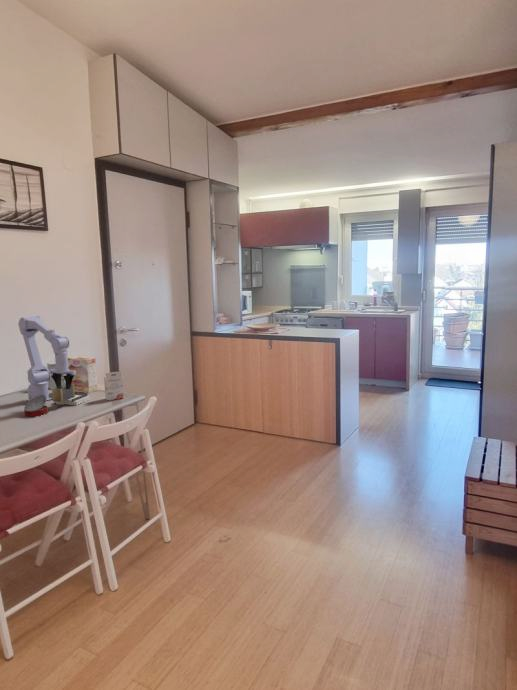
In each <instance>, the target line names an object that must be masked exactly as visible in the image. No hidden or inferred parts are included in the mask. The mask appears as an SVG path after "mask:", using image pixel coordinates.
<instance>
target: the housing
mask: <svg viewBox="0 0 517 690" xmlns="http://www.w3.org/2000/svg"><path fill="white" fill-rule="evenodd" d="M51 393H52V394H51V395H52V398H53V399H52V402H53V401H55V402H63V401H66V400H68V399H71V398H74V397H75V395H76V392H75V387H74V384H71V388H70V389H66V383H65V384H64V385H61V386H58V387H55V388H52V389H51Z"/></svg>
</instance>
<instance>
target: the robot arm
mask: <svg viewBox="0 0 517 690" xmlns="http://www.w3.org/2000/svg"><path fill="white" fill-rule="evenodd" d="M17 324H18V327H19V331H20V334H21V335H22V337H23V341H24V345H25V347H26V351H27V356H28V360H29V363H30V366H31V367H30V368H29V369H28V370H27V371H26V373H27V380H28V383H29V385H28V387H27V397H28V400H27V402H29V401H30V400H31V399H33V398H35V397H37V396H39V395H44V396H45V397H46V402H48V401H50V400H53V397H49V395H50V394H49V393H50V392H49V387H48V383H49V381H50V379H51V377H52V378H53V380H54V381H55V384H56V386H57V387H58V386H61V377H62V374H64V376H63V377H64V379H65V384H66V389H70V388H71V383H72V380H73V377H74V375H76V371H74V370H69V368H68V357H69V356H68V348H69V347H70V340H69V339H68V337H67V336H61V335H60V334H59V333H58V332H57V331H56V330H55V329H51V328H50V329H49V327H48V326H47V325H46V324H45V323H44V320H43V319H42V317H41V316H39V315H37V316H28V317H24V316H23V317H20V318H19V321H18V323H17ZM38 332H40V333H41V334H43V337H44V339H45V340H46V341H47V342H49V343H50V344H51V348H52V349H53V350H52V351H53V354H54V362H56V369H51V370H48V367H47V366H46V365H44V364H43V362H42V359H41V354H40V351H39V347H38V344H37V341H36V334H38ZM51 374H53V375H51ZM47 400H48V401H47Z"/></svg>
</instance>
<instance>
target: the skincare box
mask: <svg viewBox="0 0 517 690" xmlns="http://www.w3.org/2000/svg"><path fill="white" fill-rule="evenodd" d="M46 365H47V366H46V367H48V370H51V369H56V362H55V361H54V362H47V364H46ZM51 375H53V374H51ZM63 376H65V374H62V377H61V385H64V384H66V383H65V379H64V377H63ZM55 387H57V386H56V384H55V381H54V380H53V378H52V377H51V379H50V381H49V383H48V389H50V390H52V388H55Z"/></svg>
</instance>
